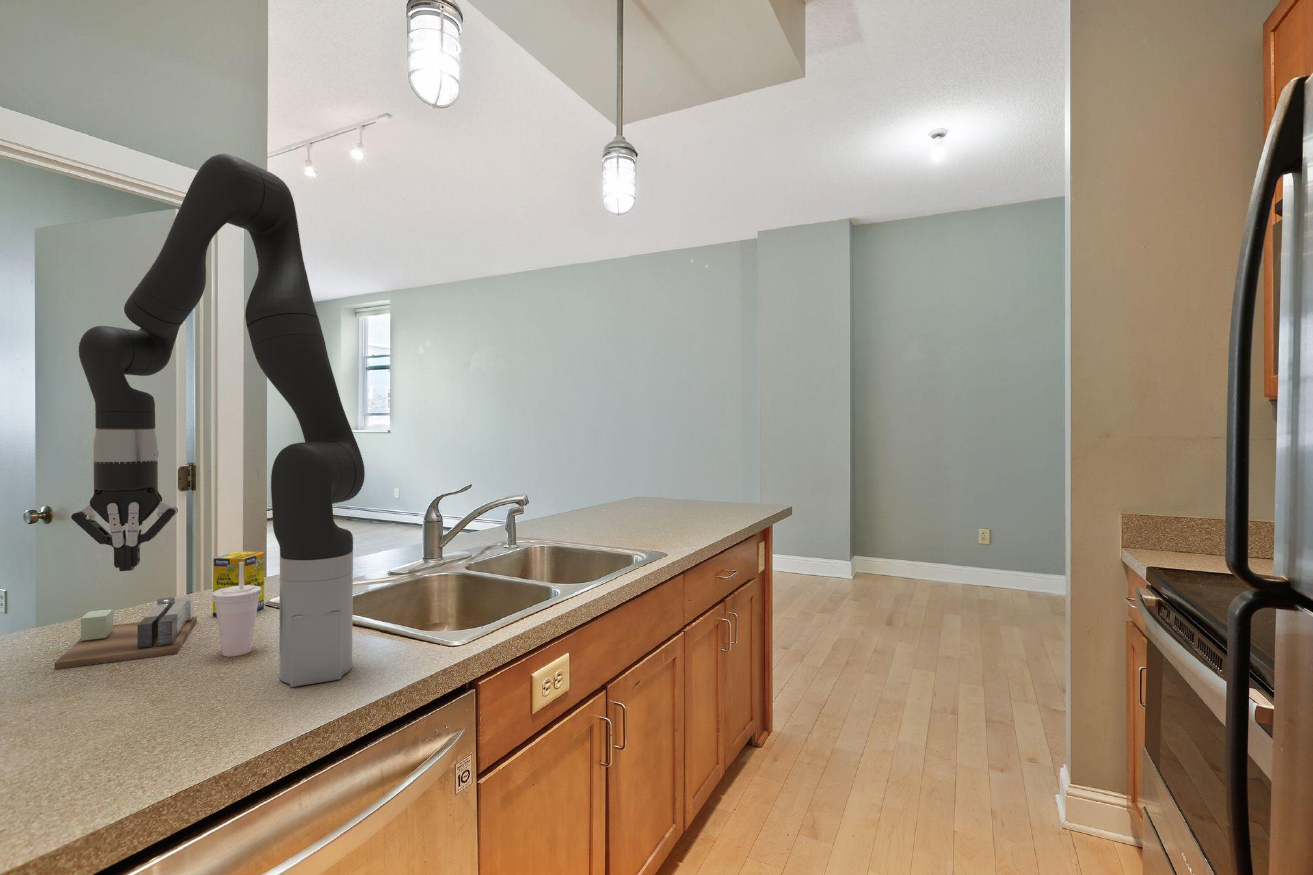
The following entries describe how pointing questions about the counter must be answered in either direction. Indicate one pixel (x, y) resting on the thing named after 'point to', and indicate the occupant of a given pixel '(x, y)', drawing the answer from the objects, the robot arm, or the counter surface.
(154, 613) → the bar
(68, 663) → the walnut board
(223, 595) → the smoothie
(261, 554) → the supplement box
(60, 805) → the counter surface
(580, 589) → the counter surface
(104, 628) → the tab
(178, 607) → the fixed jaw
